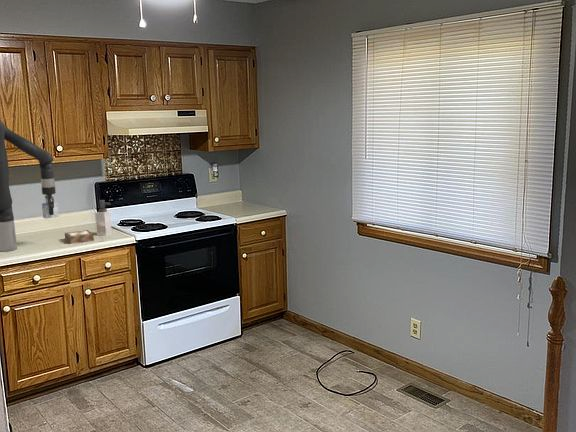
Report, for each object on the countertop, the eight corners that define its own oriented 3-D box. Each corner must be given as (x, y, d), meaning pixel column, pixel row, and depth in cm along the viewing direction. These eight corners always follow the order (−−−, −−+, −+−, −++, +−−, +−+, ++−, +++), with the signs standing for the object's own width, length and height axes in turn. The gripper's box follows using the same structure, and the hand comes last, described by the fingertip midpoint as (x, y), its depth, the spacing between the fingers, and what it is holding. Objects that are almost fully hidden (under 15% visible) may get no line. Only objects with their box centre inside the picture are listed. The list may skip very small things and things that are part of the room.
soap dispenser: (109, 235, 367) (106, 201, 363) (97, 235, 370) (94, 201, 365) (115, 233, 373) (112, 199, 369) (103, 232, 376) (100, 199, 371)
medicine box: (55, 215, 350) (54, 201, 349) (59, 216, 348) (57, 202, 346) (42, 217, 344) (41, 203, 343) (46, 218, 342) (45, 204, 340)
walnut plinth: (70, 243, 348) (69, 237, 347) (65, 239, 359) (64, 232, 359) (93, 240, 355) (93, 233, 354) (88, 236, 367) (87, 229, 366)
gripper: (39, 185, 346) (41, 212, 350) (43, 188, 334) (46, 216, 338) (52, 184, 350) (54, 211, 354) (57, 186, 338) (59, 215, 342)
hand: (50, 213), depth 346 cm, fingers closed on medicine box, 5 cm apart
